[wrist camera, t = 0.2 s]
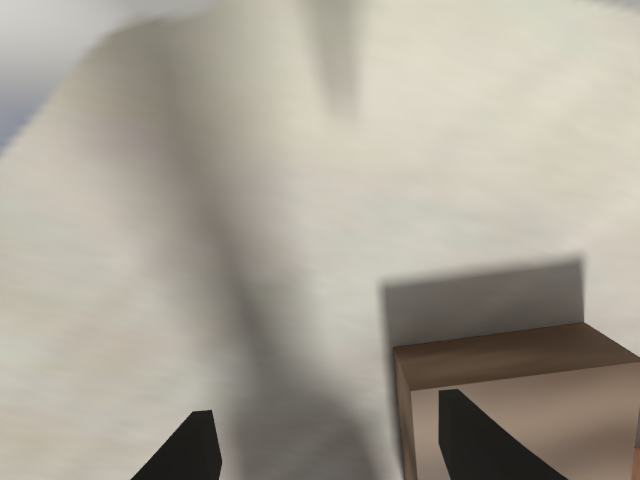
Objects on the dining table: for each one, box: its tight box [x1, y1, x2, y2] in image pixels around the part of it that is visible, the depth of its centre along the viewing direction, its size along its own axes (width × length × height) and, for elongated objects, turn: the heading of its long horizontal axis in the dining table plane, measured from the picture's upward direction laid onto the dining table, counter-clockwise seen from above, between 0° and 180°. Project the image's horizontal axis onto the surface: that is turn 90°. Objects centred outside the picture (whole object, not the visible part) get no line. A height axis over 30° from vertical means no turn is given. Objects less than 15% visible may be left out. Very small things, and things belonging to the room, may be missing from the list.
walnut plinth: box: [393, 323, 640, 480], centre depth 21 cm, size 12×12×4 cm
